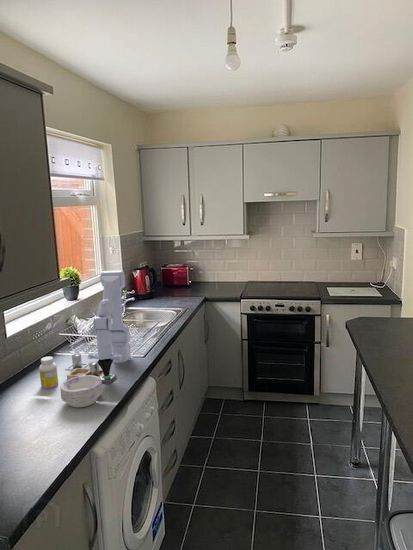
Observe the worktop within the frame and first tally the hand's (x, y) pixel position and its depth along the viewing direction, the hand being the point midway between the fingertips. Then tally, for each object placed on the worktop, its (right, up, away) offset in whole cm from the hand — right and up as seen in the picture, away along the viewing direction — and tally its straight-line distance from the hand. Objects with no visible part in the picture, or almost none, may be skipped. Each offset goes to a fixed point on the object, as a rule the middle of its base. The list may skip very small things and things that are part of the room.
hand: (106, 375), depth 180 cm
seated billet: (-6, -1, +4) cm, 8 cm away
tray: (-17, -1, +16) cm, 23 cm away
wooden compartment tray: (-9, -2, +5) cm, 11 cm away
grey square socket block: (0, -3, +1) cm, 3 cm away
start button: (0, -4, +1) cm, 4 cm away
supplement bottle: (-23, -5, -3) cm, 23 cm away
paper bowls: (-5, -7, -16) cm, 18 cm away
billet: (-17, 0, +16) cm, 23 cm away
